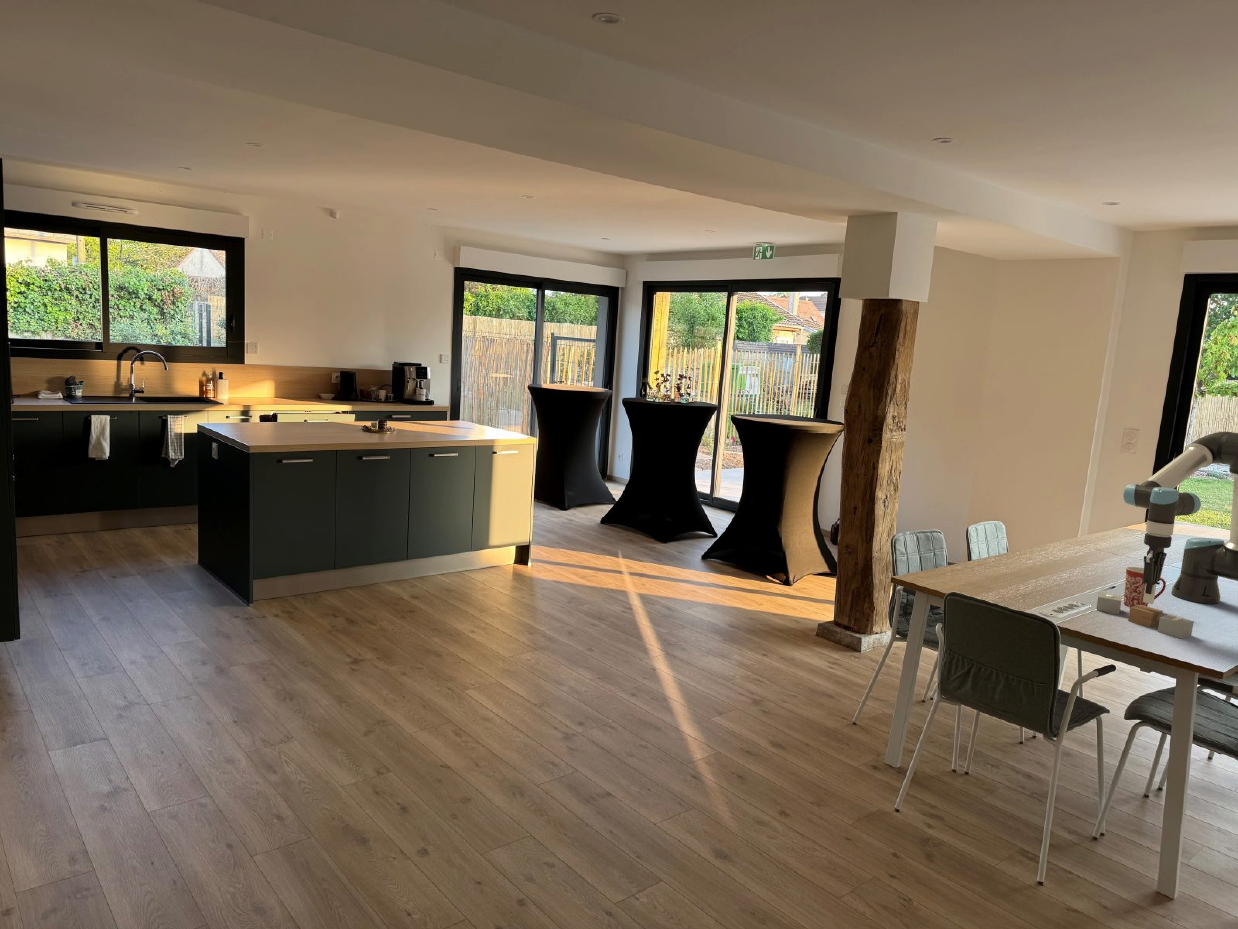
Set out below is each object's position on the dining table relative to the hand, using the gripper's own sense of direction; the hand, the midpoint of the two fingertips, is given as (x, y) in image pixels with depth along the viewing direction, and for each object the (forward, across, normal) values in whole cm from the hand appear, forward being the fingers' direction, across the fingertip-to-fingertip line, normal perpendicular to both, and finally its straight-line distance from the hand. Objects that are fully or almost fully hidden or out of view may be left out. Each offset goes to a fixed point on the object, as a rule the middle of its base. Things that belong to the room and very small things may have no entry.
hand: (1148, 602), depth 277 cm
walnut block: (+7, 0, 0) cm, 7 cm away
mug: (+8, -18, -8) cm, 22 cm away
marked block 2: (+7, +4, +10) cm, 13 cm away
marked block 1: (+7, -4, -13) cm, 15 cm away
